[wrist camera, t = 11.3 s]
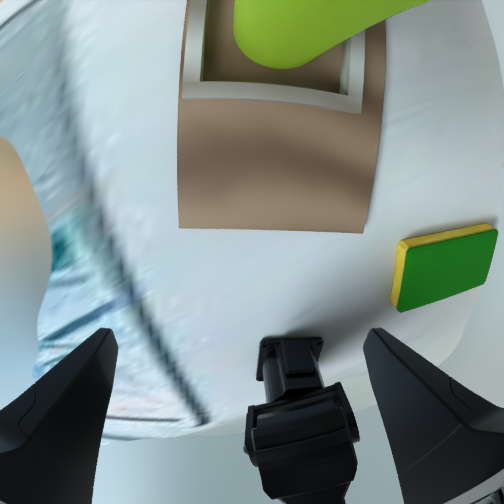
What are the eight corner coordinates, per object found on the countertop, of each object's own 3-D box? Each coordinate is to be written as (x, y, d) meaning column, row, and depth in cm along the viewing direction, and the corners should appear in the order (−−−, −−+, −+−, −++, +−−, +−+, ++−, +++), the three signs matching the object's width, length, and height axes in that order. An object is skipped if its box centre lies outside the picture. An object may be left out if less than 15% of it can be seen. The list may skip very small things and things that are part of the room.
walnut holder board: (358, 228, 22) (371, 242, 19) (181, 223, 20) (175, 237, 18) (377, -18, 12) (391, -28, 9) (197, -45, 10) (193, -61, 8)
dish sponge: (474, 273, 26) (485, 284, 24) (387, 300, 26) (397, 314, 24) (486, 221, 23) (499, 230, 21) (395, 238, 23) (409, 250, 21)
